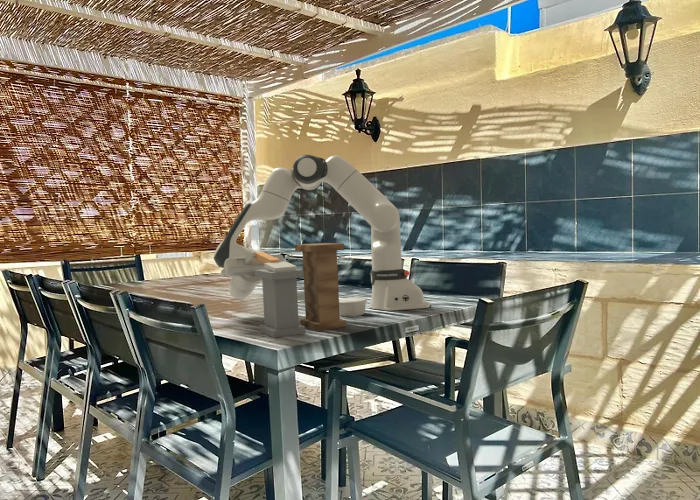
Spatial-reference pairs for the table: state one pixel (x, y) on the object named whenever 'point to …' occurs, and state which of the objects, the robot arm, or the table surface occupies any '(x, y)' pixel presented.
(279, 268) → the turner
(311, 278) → the tall stand
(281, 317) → the low stand
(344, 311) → the ramekin
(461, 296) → the table surface
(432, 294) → the table surface
